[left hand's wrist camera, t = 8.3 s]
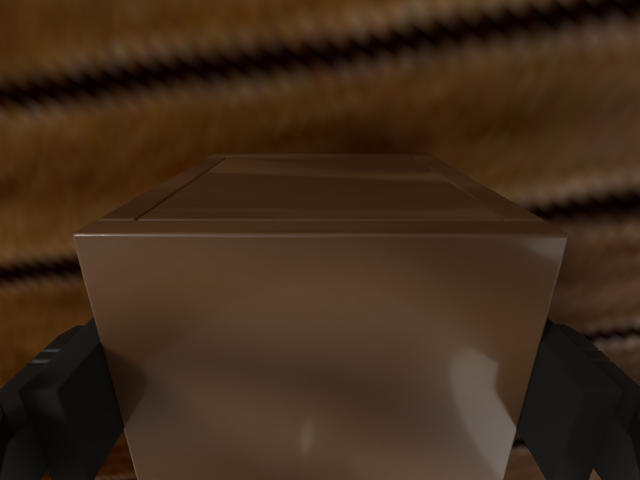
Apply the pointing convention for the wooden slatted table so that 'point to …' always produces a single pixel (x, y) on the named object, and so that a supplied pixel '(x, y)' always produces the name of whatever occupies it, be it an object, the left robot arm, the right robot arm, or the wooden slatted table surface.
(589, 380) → the left robot arm
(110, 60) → the wooden slatted table surface
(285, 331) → the cabinet
